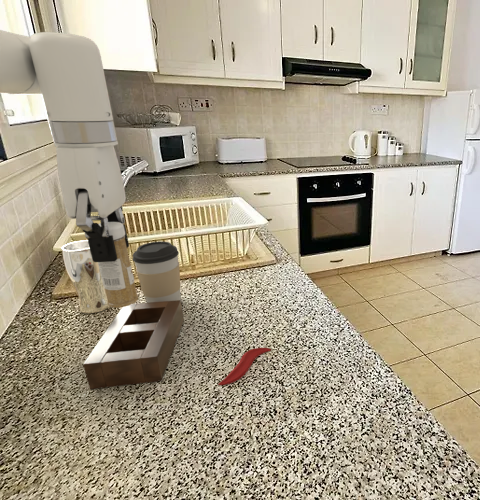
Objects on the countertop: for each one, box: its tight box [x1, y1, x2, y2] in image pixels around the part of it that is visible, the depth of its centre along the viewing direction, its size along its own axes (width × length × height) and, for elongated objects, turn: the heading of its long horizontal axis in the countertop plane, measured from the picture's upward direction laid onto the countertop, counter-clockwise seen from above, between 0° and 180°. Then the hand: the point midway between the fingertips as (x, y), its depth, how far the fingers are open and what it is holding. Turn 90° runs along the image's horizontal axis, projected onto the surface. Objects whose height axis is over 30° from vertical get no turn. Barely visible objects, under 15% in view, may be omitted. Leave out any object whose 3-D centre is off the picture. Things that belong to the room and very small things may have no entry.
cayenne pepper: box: [217, 347, 272, 386], centre depth 67 cm, size 12×5×2 cm, turn 140°
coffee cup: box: [132, 240, 182, 303], centre depth 83 cm, size 9×9×15 cm
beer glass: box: [61, 239, 110, 315], centre depth 82 cm, size 7×7×15 cm
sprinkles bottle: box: [98, 222, 139, 309], centre depth 60 cm, size 5×5×13 cm
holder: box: [82, 299, 185, 390], centre depth 70 cm, size 11×19×5 cm, turn 12°
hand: (112, 253), depth 59 cm, fingers closed on sprinkles bottle, 4 cm apart
